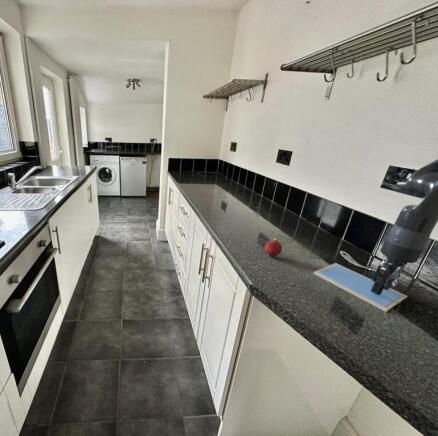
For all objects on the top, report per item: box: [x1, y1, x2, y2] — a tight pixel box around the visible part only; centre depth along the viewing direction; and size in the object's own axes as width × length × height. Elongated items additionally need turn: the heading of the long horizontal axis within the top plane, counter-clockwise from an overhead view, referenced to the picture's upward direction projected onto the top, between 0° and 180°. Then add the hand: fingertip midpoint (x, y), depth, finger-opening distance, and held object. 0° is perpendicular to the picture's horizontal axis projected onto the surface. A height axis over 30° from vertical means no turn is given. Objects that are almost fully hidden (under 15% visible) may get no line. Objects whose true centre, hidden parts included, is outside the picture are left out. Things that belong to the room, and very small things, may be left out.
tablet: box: [313, 262, 408, 313], centre depth 76 cm, size 14×20×1 cm
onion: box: [264, 238, 283, 258], centre depth 90 cm, size 6×6×8 cm
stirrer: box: [339, 250, 399, 287], centre depth 85 cm, size 20×4×5 cm
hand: (379, 290), depth 71 cm, fingers open, 5 cm apart
